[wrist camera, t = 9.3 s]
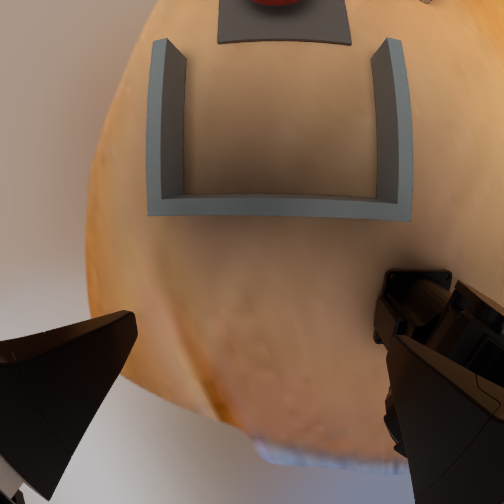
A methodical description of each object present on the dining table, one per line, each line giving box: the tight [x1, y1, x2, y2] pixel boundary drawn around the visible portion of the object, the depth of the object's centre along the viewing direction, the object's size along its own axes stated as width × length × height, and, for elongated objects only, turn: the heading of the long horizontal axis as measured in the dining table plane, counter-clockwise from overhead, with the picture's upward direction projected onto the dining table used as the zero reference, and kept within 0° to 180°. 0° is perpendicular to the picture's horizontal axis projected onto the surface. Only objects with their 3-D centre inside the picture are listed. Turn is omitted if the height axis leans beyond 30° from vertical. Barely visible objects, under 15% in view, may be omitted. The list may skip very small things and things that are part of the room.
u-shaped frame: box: [146, 37, 413, 222], centre depth 16 cm, size 16×12×4 cm
